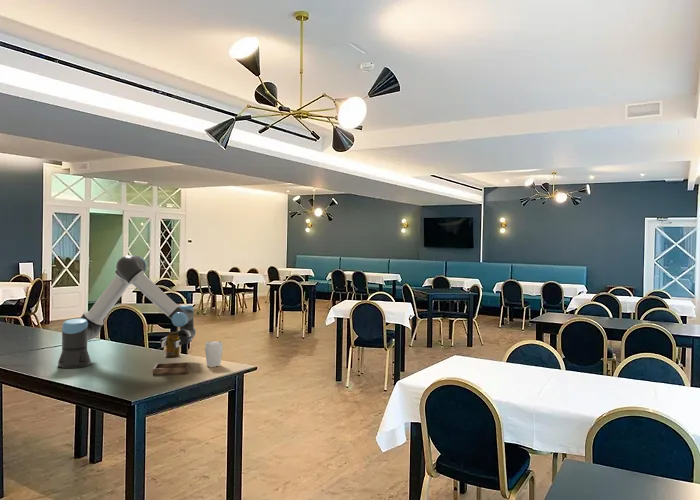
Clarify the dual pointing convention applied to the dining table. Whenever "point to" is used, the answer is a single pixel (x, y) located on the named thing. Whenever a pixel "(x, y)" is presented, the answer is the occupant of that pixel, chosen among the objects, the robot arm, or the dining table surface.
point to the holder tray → (170, 368)
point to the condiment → (172, 345)
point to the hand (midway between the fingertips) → (169, 344)
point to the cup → (213, 353)
